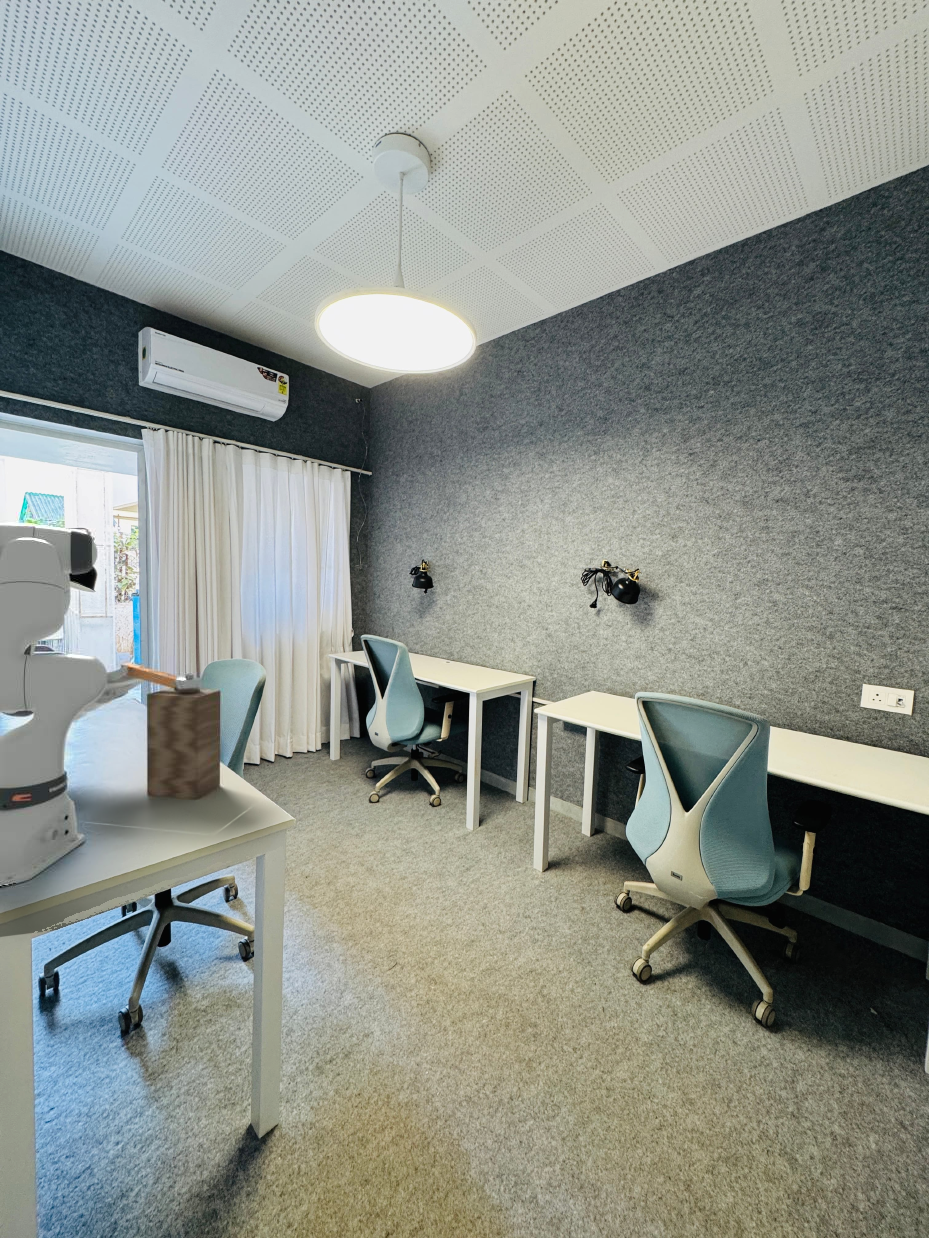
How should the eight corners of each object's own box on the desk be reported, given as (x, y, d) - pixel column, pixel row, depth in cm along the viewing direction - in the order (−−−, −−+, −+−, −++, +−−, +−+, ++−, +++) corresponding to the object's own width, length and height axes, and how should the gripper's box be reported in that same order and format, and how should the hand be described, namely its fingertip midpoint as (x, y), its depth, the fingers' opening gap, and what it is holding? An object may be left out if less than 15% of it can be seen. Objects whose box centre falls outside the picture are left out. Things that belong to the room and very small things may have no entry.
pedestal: (219, 785, 133) (220, 690, 132) (197, 799, 124) (197, 697, 123) (172, 781, 135) (172, 687, 134) (147, 794, 126) (147, 694, 125)
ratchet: (204, 690, 131) (207, 675, 131) (189, 695, 125) (192, 679, 125) (133, 670, 133) (135, 655, 133) (114, 674, 128) (117, 658, 127)
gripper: (51, 687, 122) (94, 662, 120) (119, 674, 142) (157, 652, 140) (62, 710, 122) (106, 685, 120) (129, 694, 142) (167, 672, 140)
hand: (134, 667), depth 130 cm, fingers closed on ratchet, 3 cm apart
